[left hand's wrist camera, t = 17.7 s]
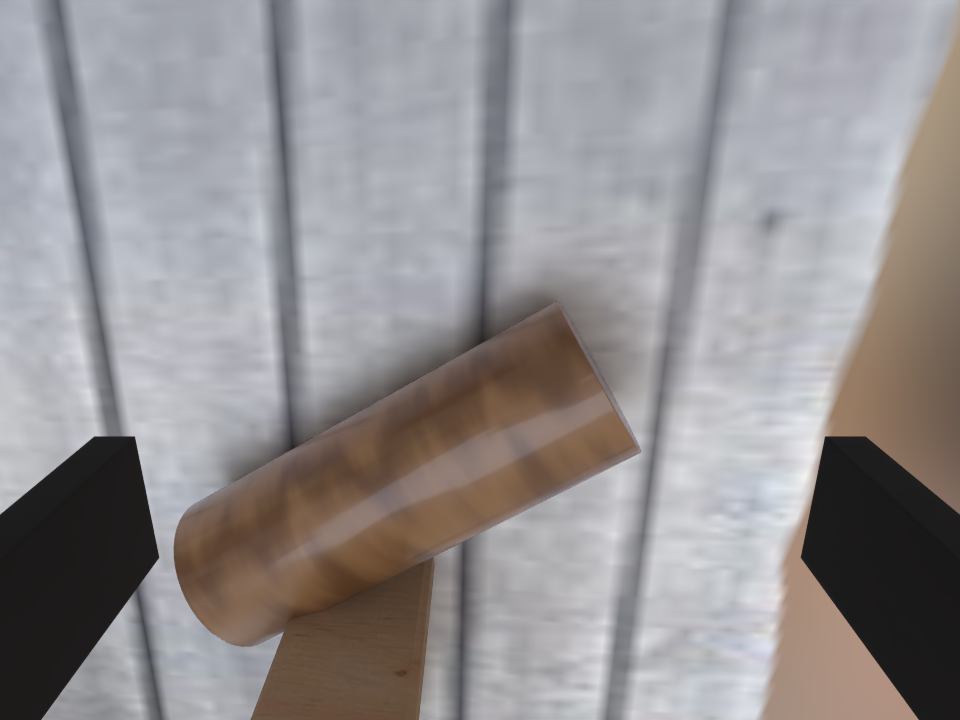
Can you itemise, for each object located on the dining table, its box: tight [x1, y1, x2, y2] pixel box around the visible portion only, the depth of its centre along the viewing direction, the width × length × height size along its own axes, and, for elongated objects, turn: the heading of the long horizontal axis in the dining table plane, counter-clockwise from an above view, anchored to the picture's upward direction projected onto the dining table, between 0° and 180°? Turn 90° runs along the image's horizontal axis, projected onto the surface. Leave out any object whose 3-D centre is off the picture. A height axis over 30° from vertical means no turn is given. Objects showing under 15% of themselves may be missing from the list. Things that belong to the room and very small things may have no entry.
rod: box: [174, 301, 641, 647], centre depth 36 cm, size 24×9×9 cm
